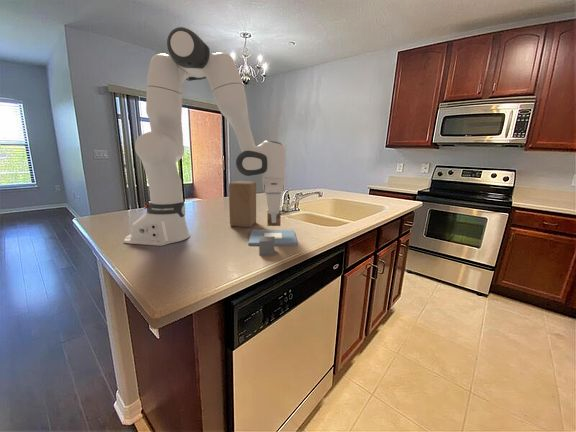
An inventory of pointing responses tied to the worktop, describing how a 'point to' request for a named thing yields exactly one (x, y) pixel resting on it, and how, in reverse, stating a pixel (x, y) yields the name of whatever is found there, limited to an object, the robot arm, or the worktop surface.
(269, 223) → the walnut cube
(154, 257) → the worktop surface
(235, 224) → the block
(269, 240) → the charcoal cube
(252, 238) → the board
